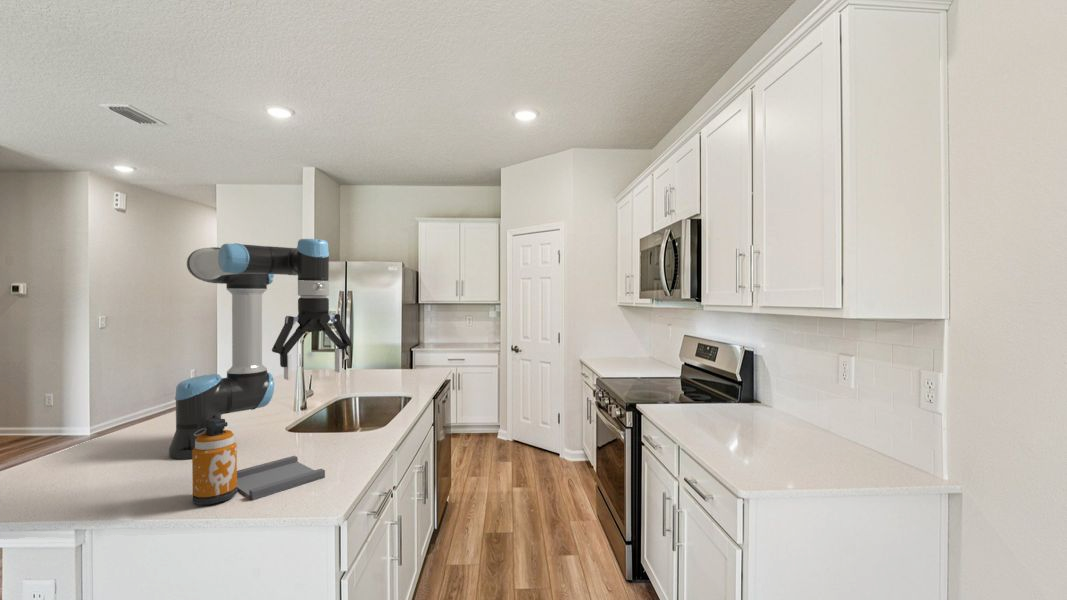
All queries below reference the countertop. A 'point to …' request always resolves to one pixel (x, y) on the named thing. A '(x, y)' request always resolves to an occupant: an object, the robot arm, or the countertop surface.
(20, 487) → the countertop surface
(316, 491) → the countertop surface
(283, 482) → the tray
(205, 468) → the canister
